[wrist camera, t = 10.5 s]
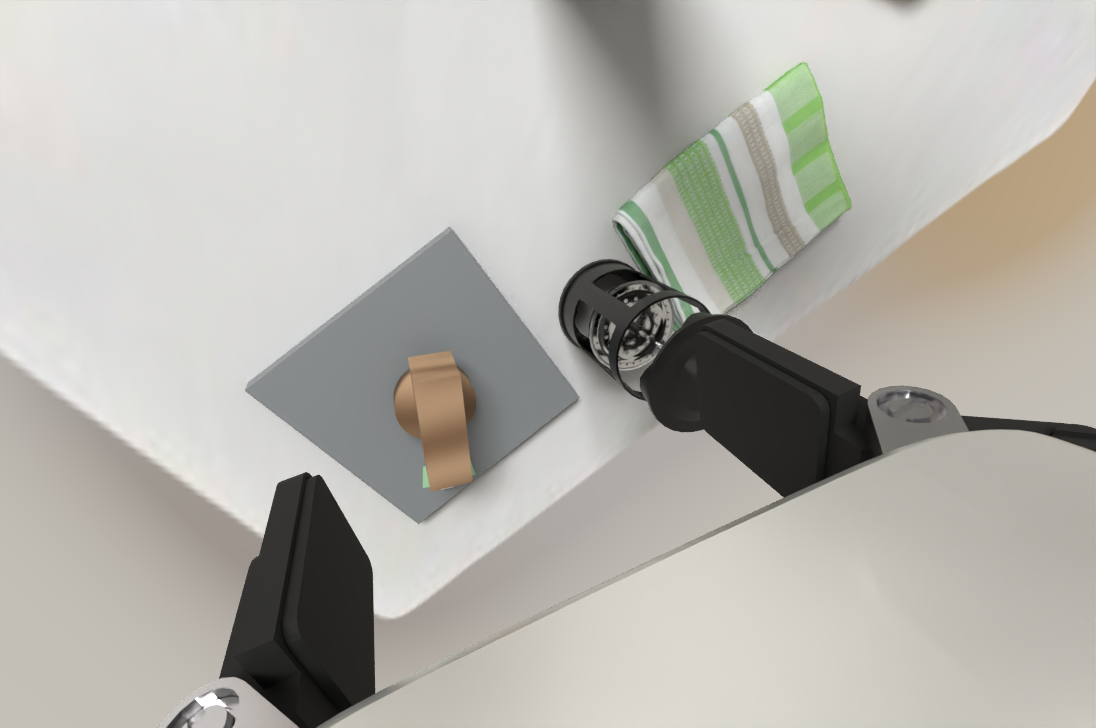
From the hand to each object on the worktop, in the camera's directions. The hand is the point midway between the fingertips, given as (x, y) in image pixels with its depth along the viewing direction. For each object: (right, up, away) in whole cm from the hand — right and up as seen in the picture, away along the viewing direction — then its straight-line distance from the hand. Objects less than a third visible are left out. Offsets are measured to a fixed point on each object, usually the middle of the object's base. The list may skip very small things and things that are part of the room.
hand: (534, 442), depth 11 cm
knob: (-10, -3, +33) cm, 35 cm away
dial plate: (-11, 0, +34) cm, 35 cm away
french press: (+6, +8, +37) cm, 38 cm away
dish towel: (+19, +18, +38) cm, 46 cm away
